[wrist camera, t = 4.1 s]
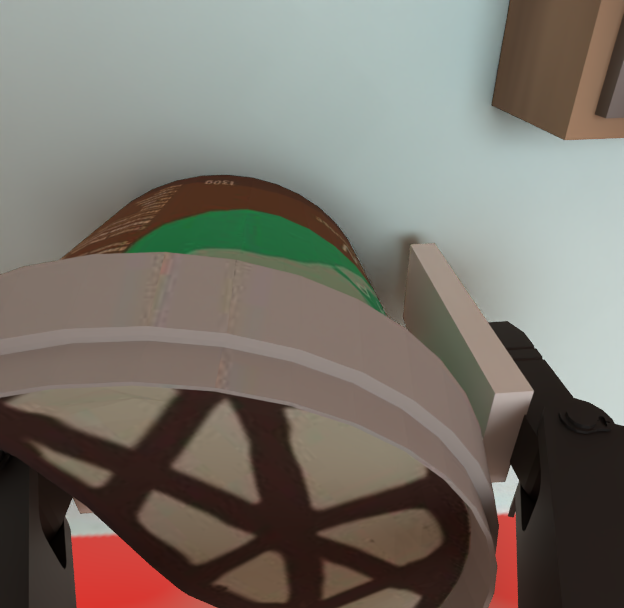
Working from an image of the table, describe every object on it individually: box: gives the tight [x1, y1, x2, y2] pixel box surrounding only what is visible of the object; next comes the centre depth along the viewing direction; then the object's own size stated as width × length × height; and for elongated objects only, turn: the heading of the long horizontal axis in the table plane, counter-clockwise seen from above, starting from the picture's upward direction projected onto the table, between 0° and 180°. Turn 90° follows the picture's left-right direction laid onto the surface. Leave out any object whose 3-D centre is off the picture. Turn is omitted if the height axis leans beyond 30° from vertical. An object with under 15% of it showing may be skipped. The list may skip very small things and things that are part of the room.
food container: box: [0, 175, 499, 608], centre depth 12 cm, size 12×6×10 cm, turn 31°
